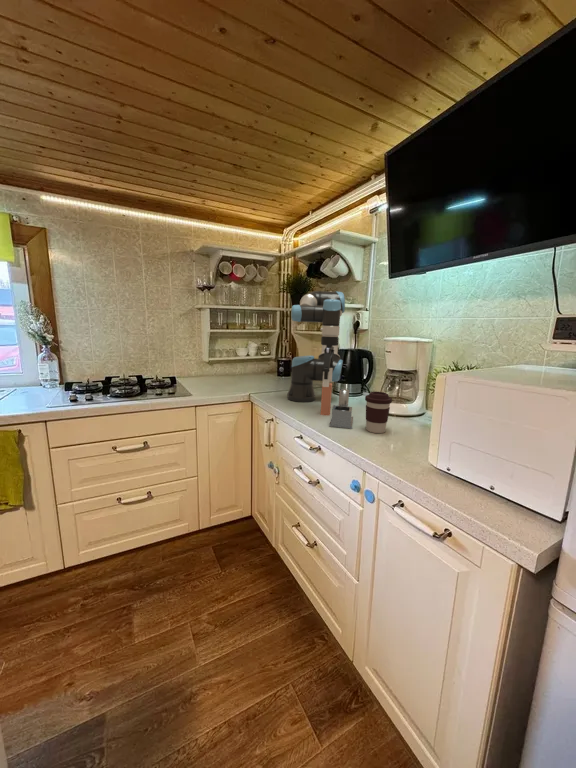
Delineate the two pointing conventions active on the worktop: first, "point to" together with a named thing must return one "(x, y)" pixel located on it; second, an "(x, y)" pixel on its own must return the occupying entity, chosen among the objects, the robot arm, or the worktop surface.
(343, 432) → the worktop surface
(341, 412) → the grey holder stand
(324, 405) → the orange rectangular bar
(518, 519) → the worktop surface
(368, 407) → the coffee cup
